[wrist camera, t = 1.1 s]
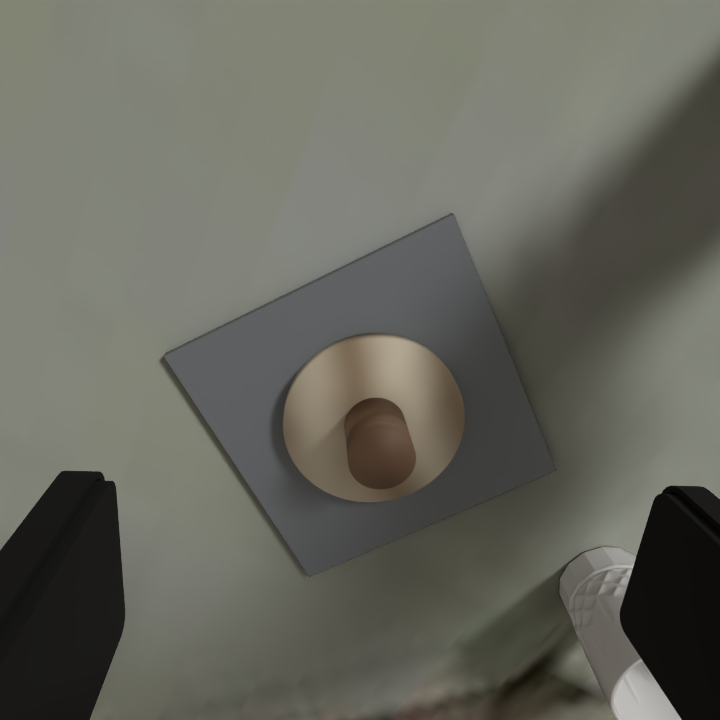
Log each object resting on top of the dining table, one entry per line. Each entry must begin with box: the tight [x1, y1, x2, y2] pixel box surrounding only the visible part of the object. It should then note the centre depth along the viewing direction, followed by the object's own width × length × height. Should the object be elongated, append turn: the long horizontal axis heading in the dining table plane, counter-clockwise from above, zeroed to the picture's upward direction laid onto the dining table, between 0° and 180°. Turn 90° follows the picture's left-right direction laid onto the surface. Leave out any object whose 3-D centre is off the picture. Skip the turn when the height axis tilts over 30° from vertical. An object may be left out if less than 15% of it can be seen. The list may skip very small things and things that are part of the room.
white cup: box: [559, 547, 682, 720], centre depth 41 cm, size 8×8×10 cm
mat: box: [164, 213, 556, 577], centre depth 38 cm, size 20×20×1 cm
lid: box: [283, 333, 465, 502], centre depth 35 cm, size 12×12×6 cm
